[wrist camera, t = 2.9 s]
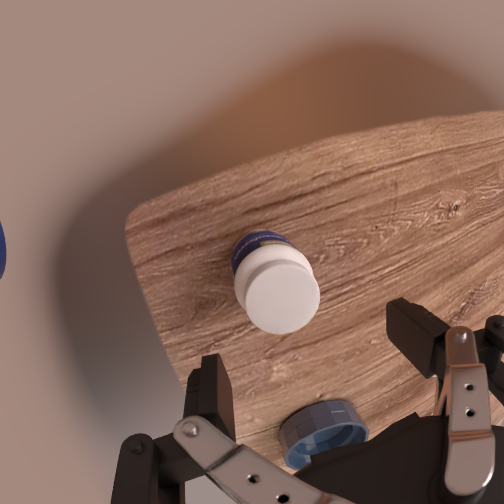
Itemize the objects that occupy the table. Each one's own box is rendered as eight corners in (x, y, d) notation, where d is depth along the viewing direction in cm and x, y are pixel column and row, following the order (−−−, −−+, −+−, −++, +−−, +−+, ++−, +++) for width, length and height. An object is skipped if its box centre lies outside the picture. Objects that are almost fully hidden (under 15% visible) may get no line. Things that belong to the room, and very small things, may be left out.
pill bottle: (277, 217, 25) (311, 240, 15) (299, 270, 27) (339, 318, 17) (220, 243, 25) (219, 282, 16) (246, 295, 27) (259, 355, 17)
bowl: (270, 449, 34) (275, 474, 29) (289, 399, 31) (298, 427, 26) (339, 443, 35) (349, 464, 31) (368, 394, 33) (382, 416, 28)
